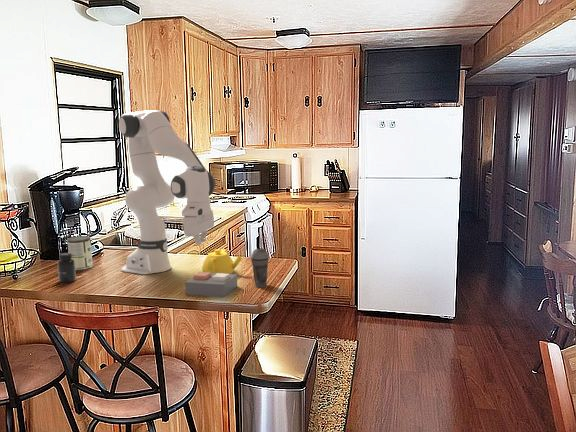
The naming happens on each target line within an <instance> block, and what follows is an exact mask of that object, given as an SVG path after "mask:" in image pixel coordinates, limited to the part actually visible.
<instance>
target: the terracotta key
mask: <svg viewBox="0 0 576 432" xmlns="http://www.w3.org/2000/svg"><path fill="white" fill-rule="evenodd" d="M193 277H194V279H196V280H207V279H208V278H210V277H211V273H208V272H202V271H198V272H196V273H195V274H194V275H193Z"/></svg>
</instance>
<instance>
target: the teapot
mask: <svg viewBox="0 0 576 432" xmlns="http://www.w3.org/2000/svg"><path fill="white" fill-rule="evenodd" d="M242 260H243V257H242V256H240V255H238V256H236V258H235V259H234V261H233V259H232V257H231V256H230V255H229V253H228V251H227V249H223V248H222V249H219V248H217V249H214V251H212V252H209V253H208V254H207V255H206V257H205V258H204V261H203V263H202V269H201V272H208V273H225V274H233V273H234V272H235V270H236V269H235V268H237V267H238V265H240V262H242Z"/></svg>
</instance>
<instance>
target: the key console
mask: <svg viewBox="0 0 576 432" xmlns="http://www.w3.org/2000/svg"><path fill="white" fill-rule="evenodd" d="M215 274H217V273H211V277H210V278H208V279H207V280H196V279H194V276H192V277H191V278H189V279H188V280H186V281H185V283H184V286H185V295H189V296H203V297H214V298H215V297H216V298H225V297H227V296H228V295H229V294H230V293H231V292H233V291H234V290H235V289H236V288H237V287H238V274H233V273H232V274H229V279H228V280H226V281H213V278H212V276H214V275H215Z"/></svg>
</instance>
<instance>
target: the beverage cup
mask: <svg viewBox="0 0 576 432" xmlns="http://www.w3.org/2000/svg"><path fill="white" fill-rule="evenodd" d="M263 238H264V237H261V241H260V247H257V248H255V249H254V250H253V251H252V253H251V256H250V259H251V264H252V271H253V280H254V285H255V287H256V288H265V287H267V280H268V265H269V260H270V259H269V258H270V257H269V253H268V252H267V250H265V248H263V240H264V239H263Z"/></svg>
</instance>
